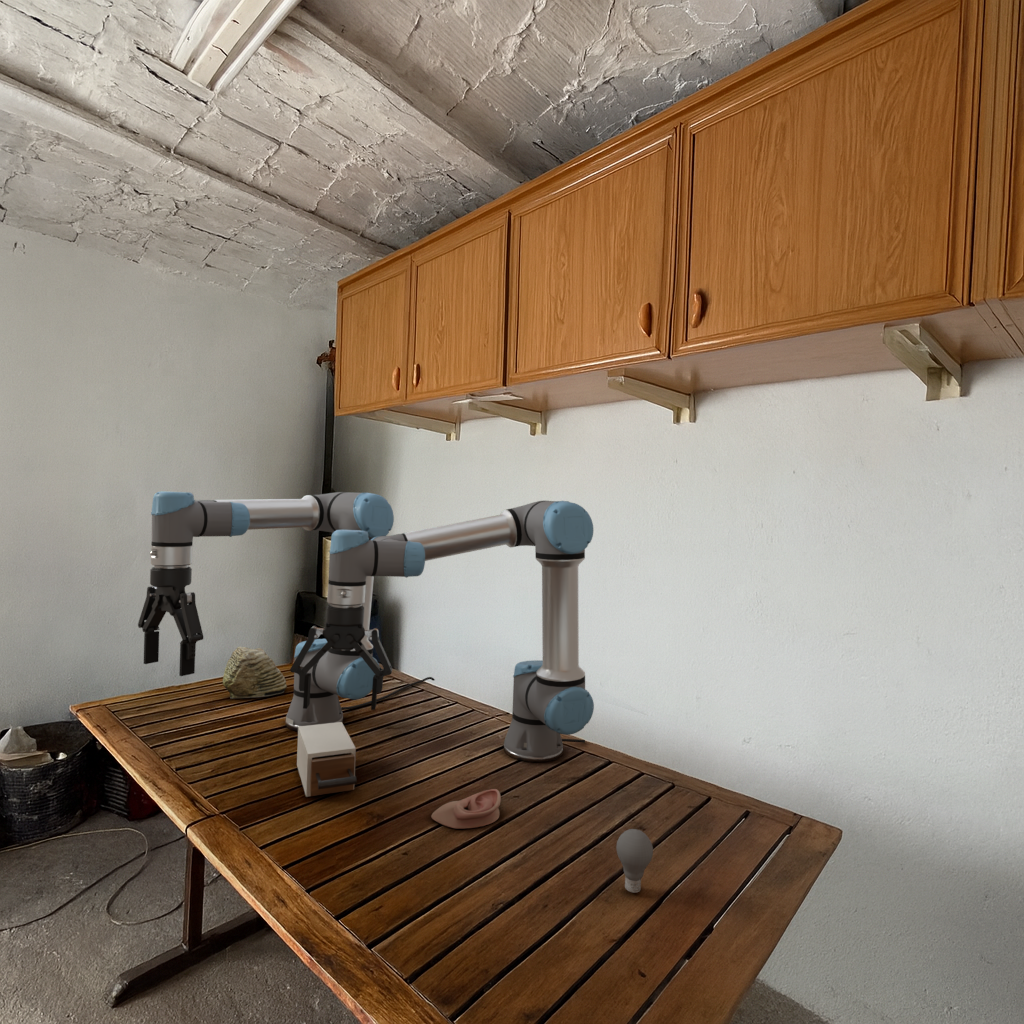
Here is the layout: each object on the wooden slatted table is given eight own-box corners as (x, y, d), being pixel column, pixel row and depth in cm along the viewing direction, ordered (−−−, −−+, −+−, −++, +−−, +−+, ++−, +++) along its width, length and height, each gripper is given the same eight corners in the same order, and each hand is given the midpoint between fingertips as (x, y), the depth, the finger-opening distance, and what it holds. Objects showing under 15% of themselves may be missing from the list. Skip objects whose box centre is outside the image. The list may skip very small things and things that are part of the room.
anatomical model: (426, 804, 124) (444, 779, 135) (425, 824, 124) (443, 798, 135) (492, 814, 121) (505, 787, 132) (491, 834, 121) (504, 806, 133)
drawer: (359, 802, 130) (360, 767, 130) (314, 809, 126) (315, 773, 126) (340, 760, 150) (341, 730, 150) (301, 766, 146) (302, 735, 146)
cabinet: (354, 789, 138) (355, 748, 137) (306, 797, 133) (307, 754, 133) (340, 759, 153) (341, 721, 153) (296, 765, 149) (298, 726, 149)
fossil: (218, 695, 195) (220, 647, 195) (278, 685, 208) (279, 640, 207) (228, 703, 189) (230, 653, 188) (289, 692, 201) (290, 645, 201)
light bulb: (610, 879, 108) (613, 822, 108) (644, 879, 109) (647, 822, 109) (619, 902, 102) (622, 840, 102) (655, 901, 103) (658, 840, 103)
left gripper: (121, 562, 134) (118, 661, 135) (187, 573, 121) (184, 684, 121) (157, 559, 141) (154, 654, 141) (224, 570, 127) (220, 675, 128)
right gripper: (278, 605, 125) (272, 711, 126) (406, 610, 128) (400, 714, 128) (287, 599, 133) (282, 700, 133) (407, 604, 136) (402, 702, 136)
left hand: (168, 668), depth 131 cm, fingers open, 13 cm apart
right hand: (340, 707), depth 131 cm, fingers open, 13 cm apart
